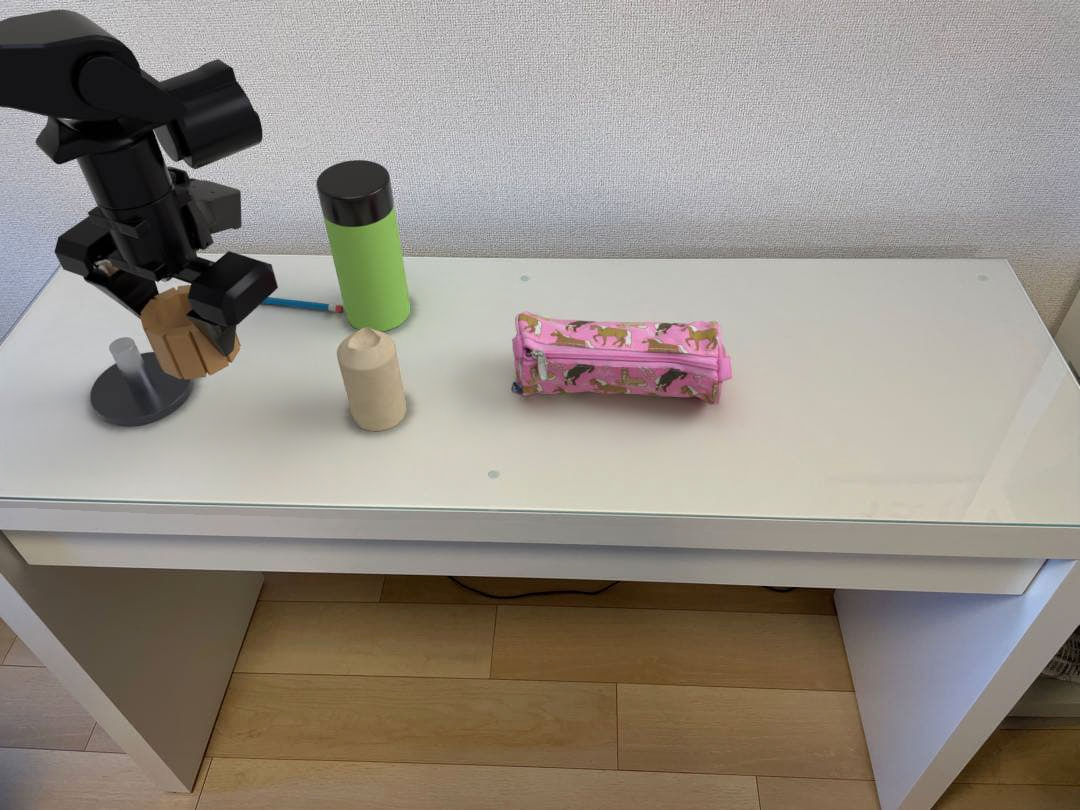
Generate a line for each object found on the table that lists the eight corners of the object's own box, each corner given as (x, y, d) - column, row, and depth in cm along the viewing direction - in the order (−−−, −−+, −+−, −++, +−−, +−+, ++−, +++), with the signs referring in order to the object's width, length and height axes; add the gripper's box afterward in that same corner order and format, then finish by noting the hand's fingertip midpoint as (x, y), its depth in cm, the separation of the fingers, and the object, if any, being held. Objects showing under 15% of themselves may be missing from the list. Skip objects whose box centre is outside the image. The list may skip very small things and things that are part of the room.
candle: (359, 390, 89) (342, 317, 81) (411, 394, 88) (398, 320, 81) (346, 430, 85) (326, 356, 78) (400, 433, 84) (386, 359, 77)
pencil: (341, 313, 97) (340, 308, 97) (202, 297, 99) (200, 292, 99) (343, 309, 98) (342, 304, 97) (205, 293, 100) (203, 288, 99)
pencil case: (509, 416, 86) (505, 351, 79) (519, 353, 92) (516, 288, 86) (724, 428, 84) (738, 363, 78) (719, 363, 91) (731, 298, 84)
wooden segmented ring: (167, 389, 74) (147, 346, 71) (154, 340, 79) (134, 297, 75) (247, 364, 76) (232, 321, 73) (230, 317, 81) (215, 275, 77)
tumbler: (333, 311, 98) (299, 177, 85) (387, 282, 101) (361, 149, 88) (371, 342, 94) (341, 207, 81) (425, 311, 97) (404, 177, 85)
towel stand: (99, 439, 84) (73, 393, 80) (88, 376, 91) (63, 330, 86) (202, 406, 87) (182, 360, 83) (184, 347, 94) (164, 301, 89)
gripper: (297, 165, 67) (334, 316, 79) (119, 117, 73) (177, 265, 84) (201, 241, 61) (257, 394, 72) (13, 182, 66) (92, 333, 78)
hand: (195, 341), depth 77 cm, fingers closed on wooden segmented ring, 7 cm apart
